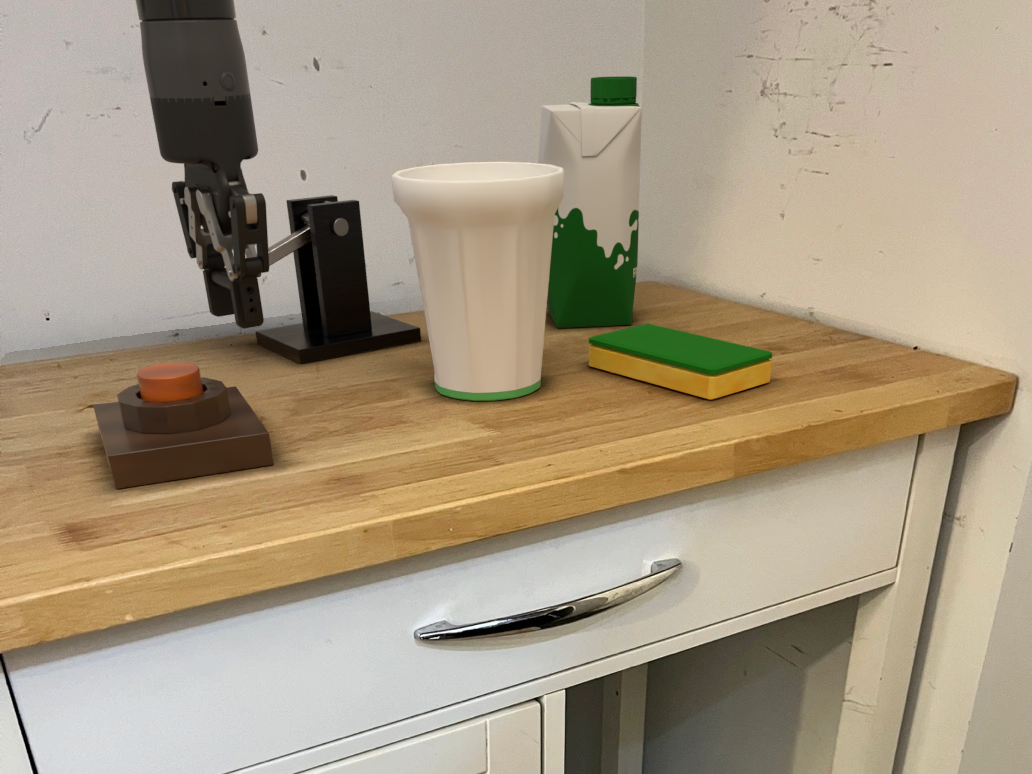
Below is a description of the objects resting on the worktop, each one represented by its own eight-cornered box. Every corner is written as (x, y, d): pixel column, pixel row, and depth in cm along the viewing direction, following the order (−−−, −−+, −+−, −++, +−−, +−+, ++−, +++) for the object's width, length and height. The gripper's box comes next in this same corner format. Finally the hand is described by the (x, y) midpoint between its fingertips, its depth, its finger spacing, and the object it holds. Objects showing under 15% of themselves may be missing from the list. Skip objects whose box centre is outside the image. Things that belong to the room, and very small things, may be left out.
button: (138, 393, 74) (133, 366, 73) (199, 385, 75) (194, 359, 74) (145, 409, 71) (139, 381, 70) (208, 400, 72) (203, 373, 71)
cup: (475, 357, 94) (464, 158, 85) (597, 378, 87) (598, 165, 79) (376, 393, 85) (354, 176, 77) (503, 419, 79) (494, 185, 71)
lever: (240, 303, 90) (226, 275, 88) (217, 293, 93) (203, 267, 92) (357, 232, 93) (345, 204, 92) (330, 225, 97) (319, 198, 95)
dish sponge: (646, 351, 94) (647, 322, 93) (772, 383, 85) (775, 351, 84) (586, 366, 90) (586, 336, 89) (710, 401, 82) (712, 368, 80)
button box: (100, 435, 78) (86, 378, 76) (241, 415, 81) (231, 360, 79) (115, 489, 68) (100, 426, 66) (274, 465, 72) (264, 404, 70)
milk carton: (643, 327, 102) (650, 78, 91) (546, 331, 101) (542, 81, 90) (626, 306, 109) (631, 74, 98) (536, 310, 108) (531, 77, 98)
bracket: (300, 364, 93) (280, 213, 87) (257, 344, 99) (234, 202, 93) (421, 341, 99) (410, 198, 93) (373, 323, 105) (359, 188, 99)
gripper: (120, 90, 87) (164, 313, 96) (186, 95, 77) (228, 343, 86) (210, 86, 90) (244, 301, 100) (284, 90, 81) (314, 329, 90)
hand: (237, 319), depth 93 cm, fingers closed on lever, 5 cm apart
